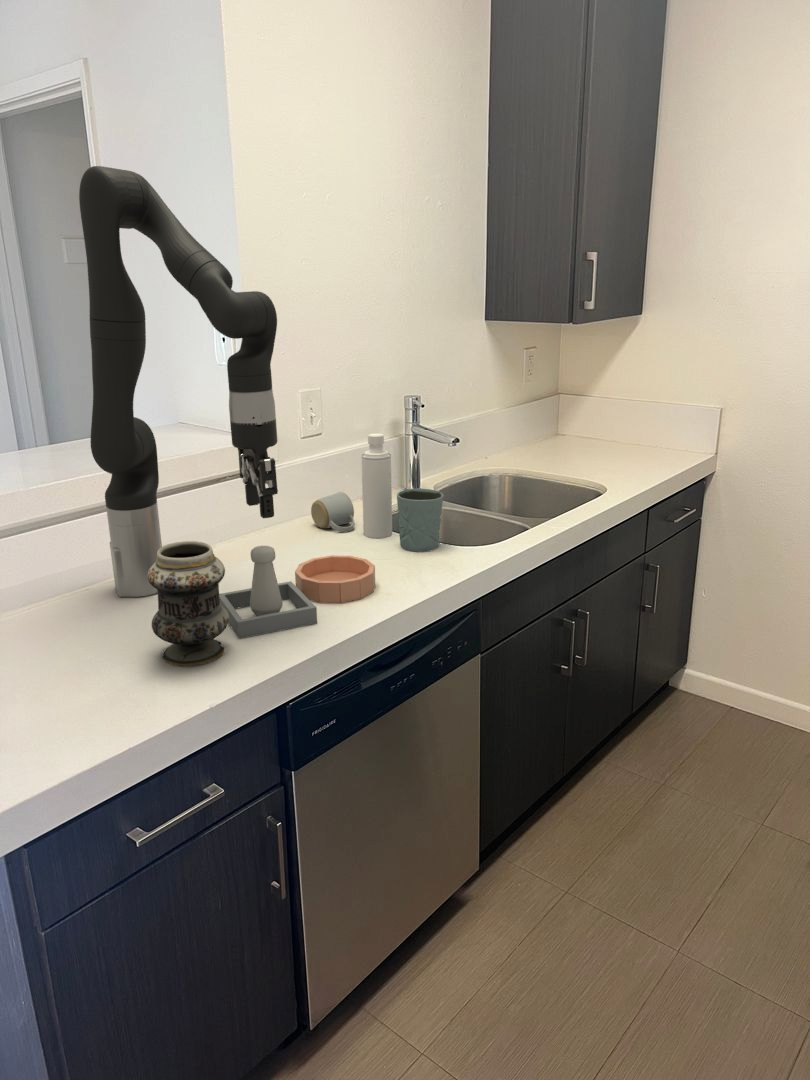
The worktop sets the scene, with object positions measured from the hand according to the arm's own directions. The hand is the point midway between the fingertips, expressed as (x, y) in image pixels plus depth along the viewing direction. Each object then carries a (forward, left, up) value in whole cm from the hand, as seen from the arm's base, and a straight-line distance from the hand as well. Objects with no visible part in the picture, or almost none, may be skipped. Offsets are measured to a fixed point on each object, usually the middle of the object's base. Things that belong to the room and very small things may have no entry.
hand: (260, 511), depth 142 cm
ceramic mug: (+30, +44, -20) cm, 57 cm away
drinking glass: (+42, +22, -20) cm, 51 cm away
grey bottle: (+37, +34, -20) cm, 54 cm away
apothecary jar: (-15, -9, -20) cm, 27 cm away
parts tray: (0, 0, -20) cm, 20 cm away
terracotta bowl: (+16, +7, -20) cm, 26 cm away
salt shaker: (0, 0, -20) cm, 20 cm away
